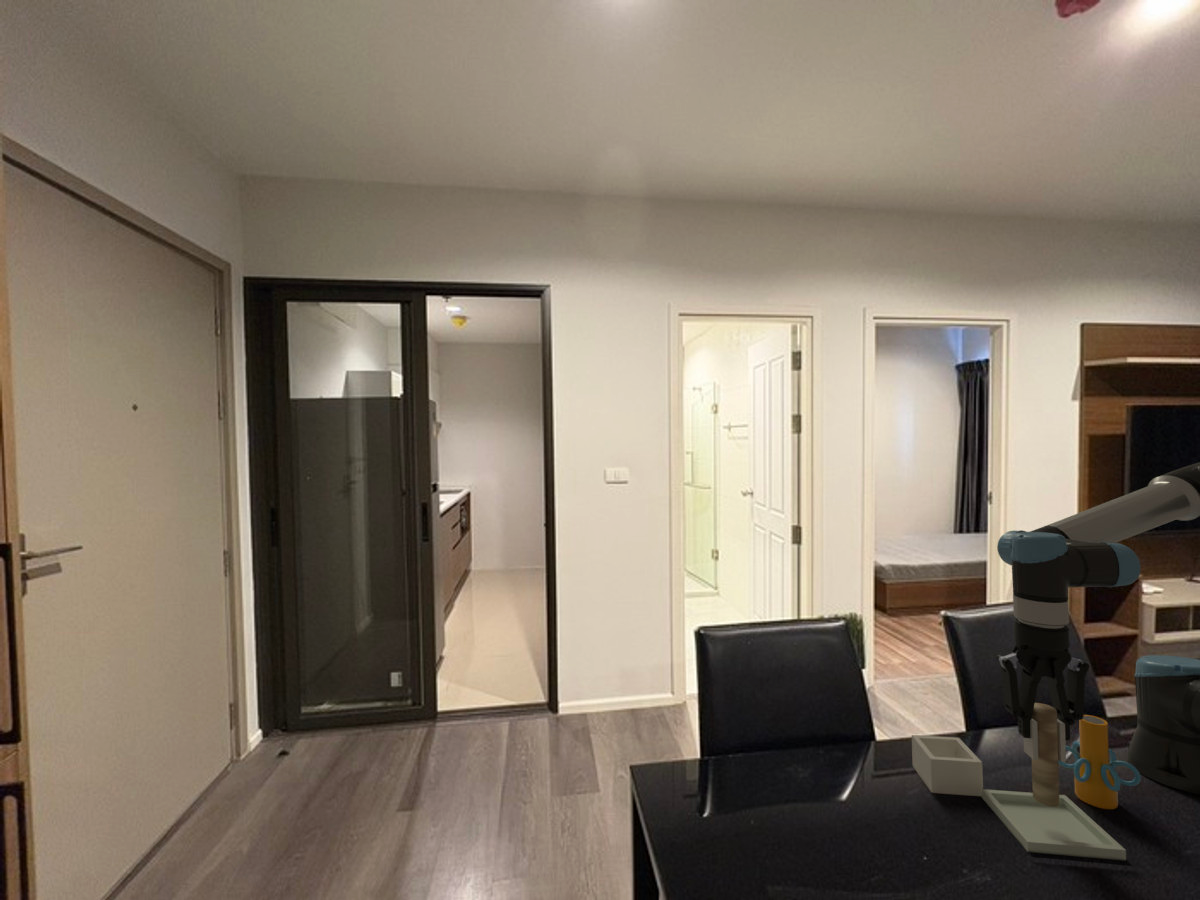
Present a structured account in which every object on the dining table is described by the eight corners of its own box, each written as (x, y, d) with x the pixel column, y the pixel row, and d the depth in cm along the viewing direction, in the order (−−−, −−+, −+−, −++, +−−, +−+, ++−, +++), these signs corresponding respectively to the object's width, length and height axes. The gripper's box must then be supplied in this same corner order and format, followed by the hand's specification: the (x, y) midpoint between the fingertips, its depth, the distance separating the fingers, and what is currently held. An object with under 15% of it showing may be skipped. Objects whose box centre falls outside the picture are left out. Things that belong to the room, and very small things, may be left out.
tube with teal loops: (1155, 825, 94) (1152, 739, 94) (1086, 818, 96) (1083, 734, 96) (1105, 783, 106) (1102, 706, 106) (1044, 778, 108) (1042, 703, 108)
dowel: (1050, 794, 95) (1048, 703, 95) (1064, 807, 91) (1061, 713, 91) (1028, 792, 95) (1025, 702, 96) (1041, 805, 92) (1038, 711, 92)
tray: (1065, 807, 99) (1065, 795, 99) (1126, 864, 85) (1125, 850, 85) (981, 800, 101) (981, 789, 101) (1028, 855, 88) (1027, 841, 88)
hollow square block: (959, 771, 111) (958, 737, 111) (983, 799, 102) (982, 762, 102) (912, 768, 112) (911, 735, 112) (931, 795, 103) (930, 759, 103)
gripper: (1078, 616, 96) (1083, 748, 96) (977, 614, 99) (980, 741, 99) (1111, 630, 89) (1115, 772, 88) (1000, 626, 91) (1004, 765, 91)
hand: (1044, 756), depth 93 cm, fingers closed on dowel, 3 cm apart
